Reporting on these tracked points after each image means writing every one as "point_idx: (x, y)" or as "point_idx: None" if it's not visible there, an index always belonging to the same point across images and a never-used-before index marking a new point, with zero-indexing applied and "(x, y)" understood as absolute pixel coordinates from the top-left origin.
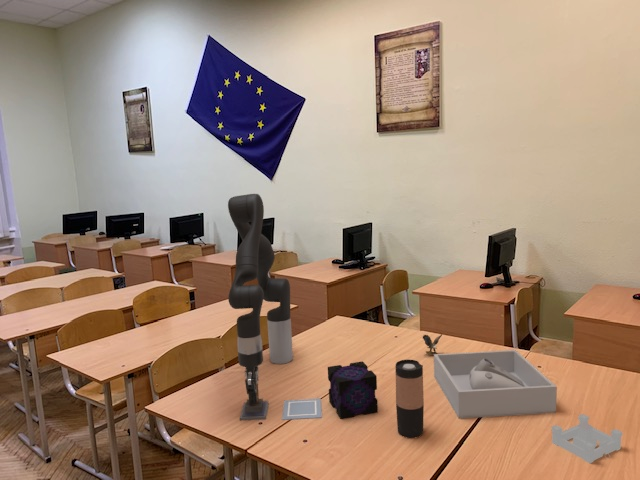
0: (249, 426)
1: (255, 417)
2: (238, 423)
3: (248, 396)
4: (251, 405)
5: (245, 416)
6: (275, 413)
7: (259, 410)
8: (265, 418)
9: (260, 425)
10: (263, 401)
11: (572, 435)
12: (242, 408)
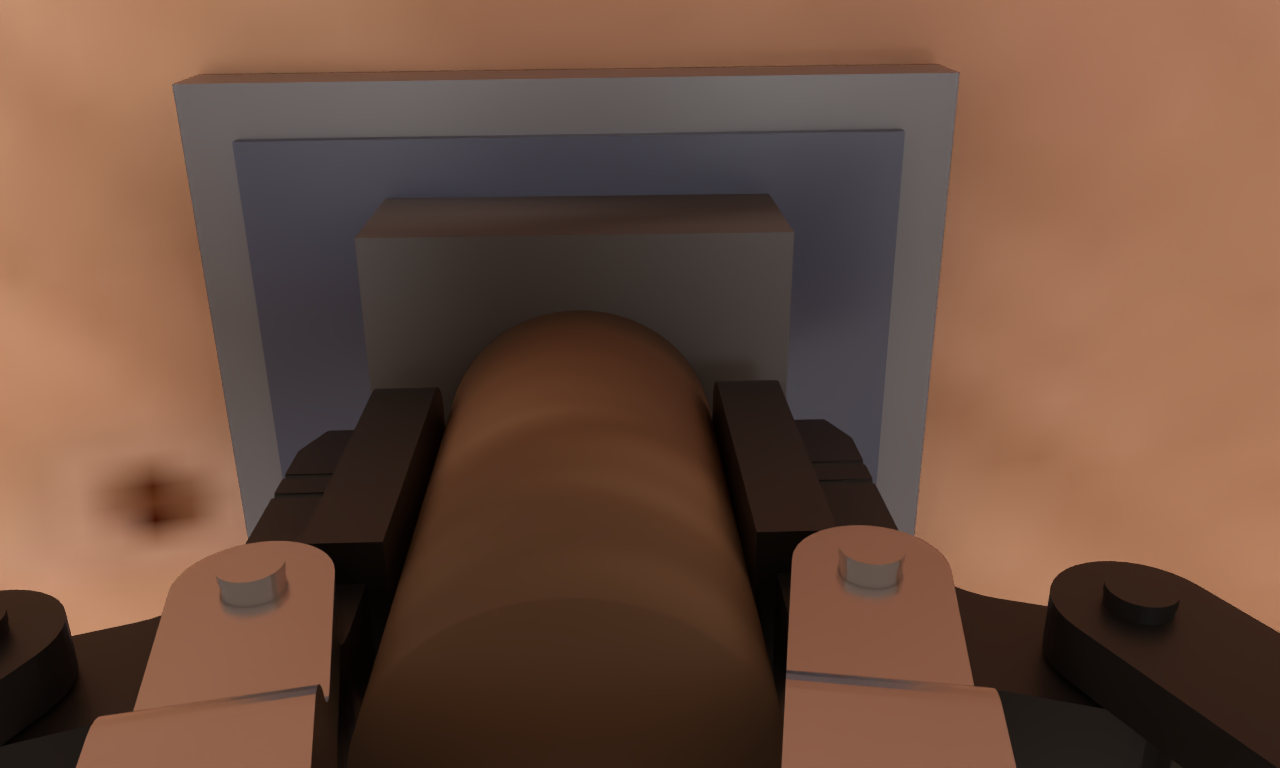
0: (3, 314)
1: (235, 428)
2: (101, 56)
3: (520, 400)
4: None
5: (248, 216)
6: None
7: None
8: None
9: (65, 511)
10: (907, 508)
11: None
12: (647, 81)
